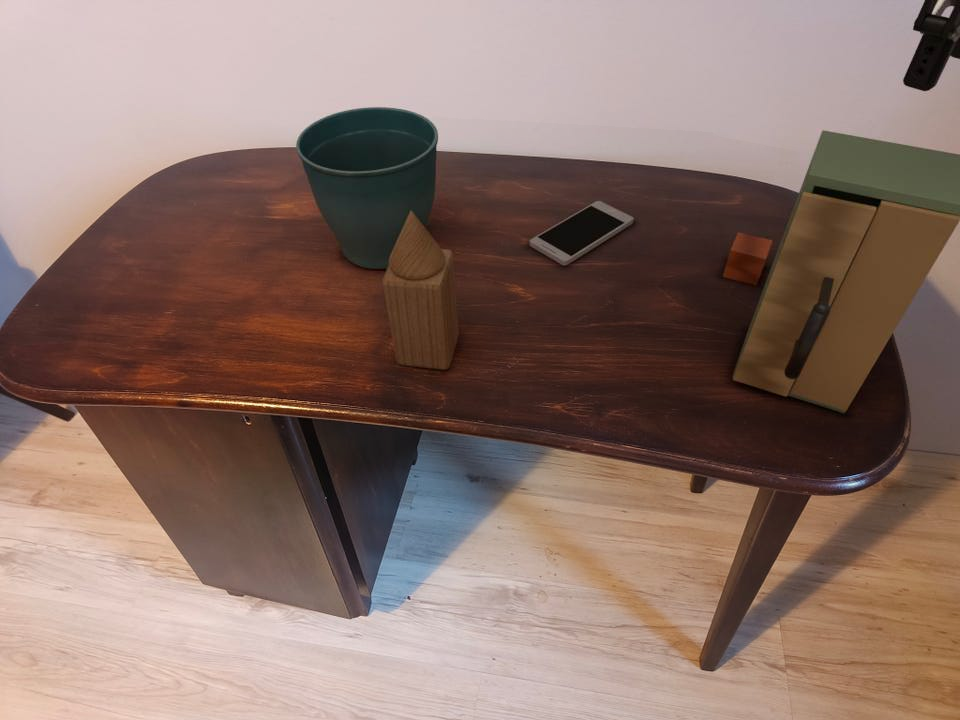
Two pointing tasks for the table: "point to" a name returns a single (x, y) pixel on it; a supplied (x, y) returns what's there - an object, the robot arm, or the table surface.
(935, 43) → the robot arm
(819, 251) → the door
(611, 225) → the smartphone
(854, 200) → the box
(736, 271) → the block
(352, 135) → the flower pot
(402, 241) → the decorative item
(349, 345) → the table surface
